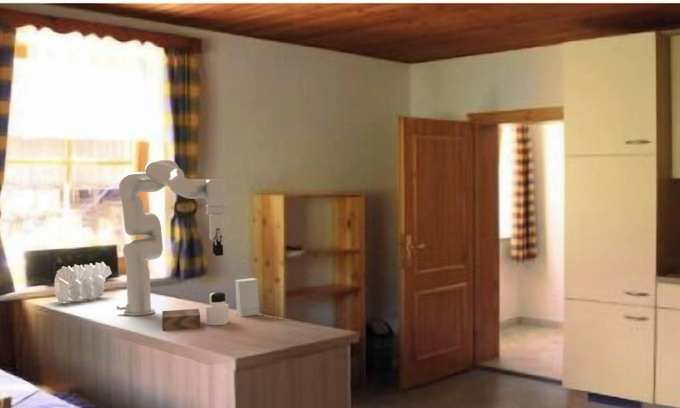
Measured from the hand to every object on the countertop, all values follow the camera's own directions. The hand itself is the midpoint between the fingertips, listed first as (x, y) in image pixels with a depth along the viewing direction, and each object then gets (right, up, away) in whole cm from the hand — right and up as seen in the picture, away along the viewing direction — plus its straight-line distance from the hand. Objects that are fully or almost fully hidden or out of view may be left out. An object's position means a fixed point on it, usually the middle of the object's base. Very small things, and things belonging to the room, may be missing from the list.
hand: (217, 254), depth 286 cm
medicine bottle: (0, -27, -1) cm, 27 cm away
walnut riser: (-13, -27, -4) cm, 31 cm away
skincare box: (+10, -26, +16) cm, 32 cm away
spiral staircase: (-76, -27, +65) cm, 104 cm away
